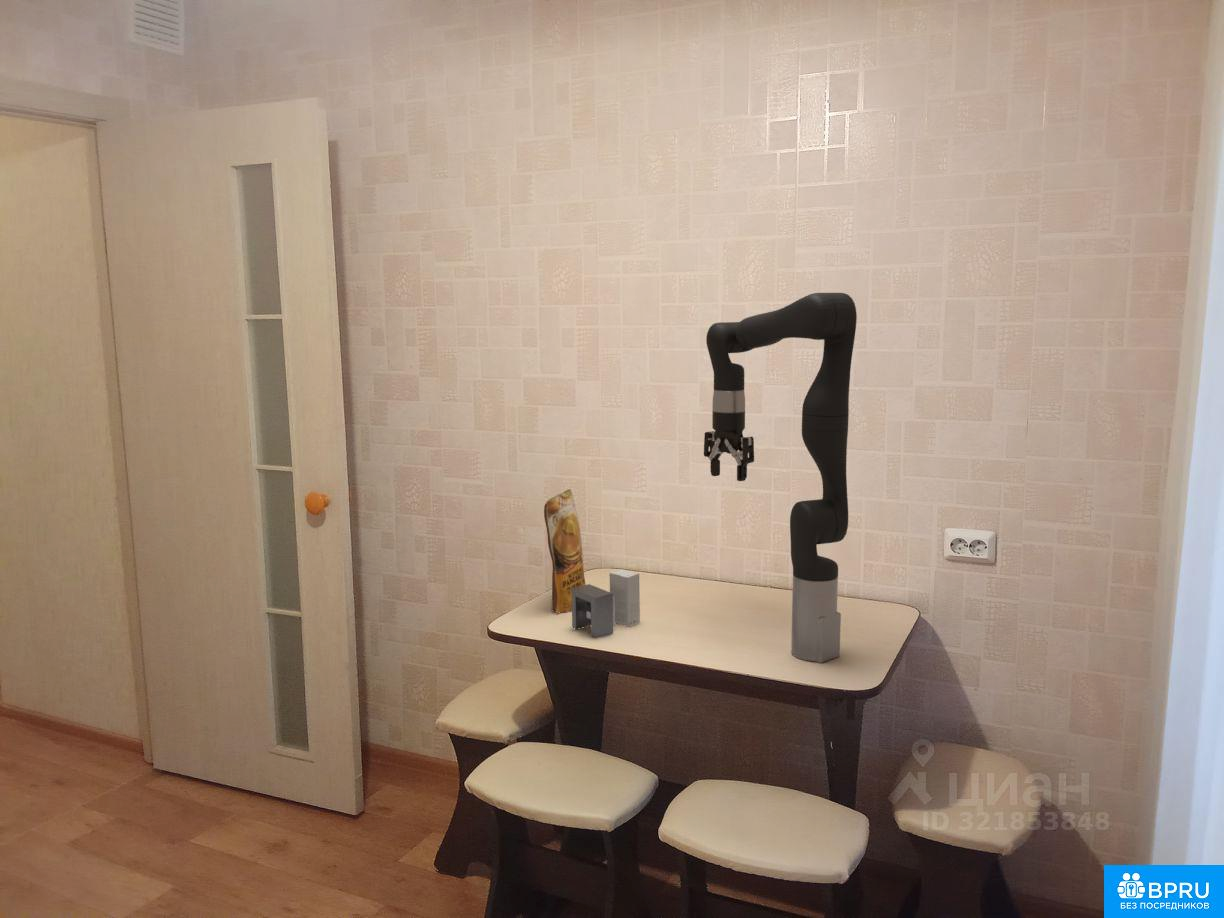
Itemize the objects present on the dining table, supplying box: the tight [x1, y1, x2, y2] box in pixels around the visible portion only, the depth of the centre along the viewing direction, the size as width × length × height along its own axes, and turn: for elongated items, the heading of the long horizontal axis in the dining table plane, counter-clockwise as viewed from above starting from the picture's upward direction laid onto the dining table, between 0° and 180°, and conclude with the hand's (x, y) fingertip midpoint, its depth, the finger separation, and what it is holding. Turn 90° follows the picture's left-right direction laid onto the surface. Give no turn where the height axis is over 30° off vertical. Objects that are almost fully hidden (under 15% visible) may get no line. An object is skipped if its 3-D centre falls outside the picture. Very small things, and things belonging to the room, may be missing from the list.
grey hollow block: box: [571, 583, 614, 640], centre depth 213 cm, size 12×11×10 cm
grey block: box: [586, 596, 616, 628], centre depth 213 cm, size 10×6×7 cm, turn 37°
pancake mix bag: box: [543, 489, 587, 615], centre depth 227 cm, size 7×19×28 cm, turn 156°
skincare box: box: [609, 568, 641, 628], centre depth 215 cm, size 6×4×12 cm
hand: (728, 478), depth 215 cm, fingers open, 8 cm apart
